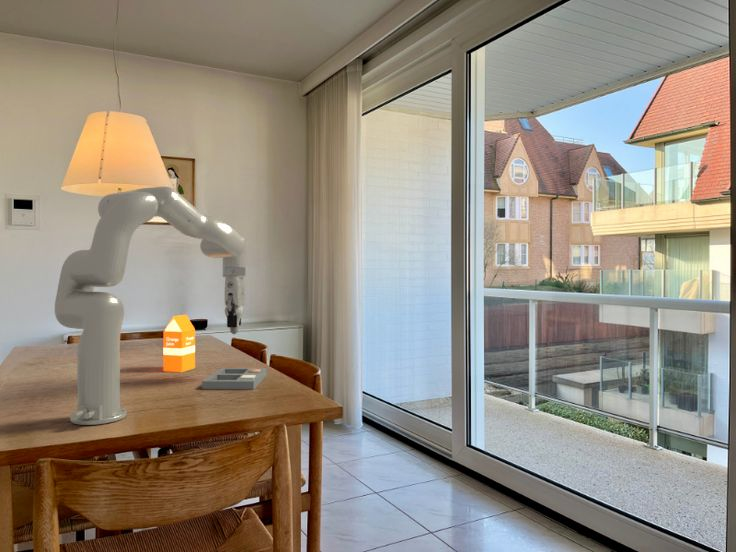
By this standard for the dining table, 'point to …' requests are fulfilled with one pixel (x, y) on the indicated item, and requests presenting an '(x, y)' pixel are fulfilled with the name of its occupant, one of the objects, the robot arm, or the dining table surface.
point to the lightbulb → (239, 313)
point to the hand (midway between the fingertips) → (234, 325)
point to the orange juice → (179, 345)
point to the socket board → (235, 378)
